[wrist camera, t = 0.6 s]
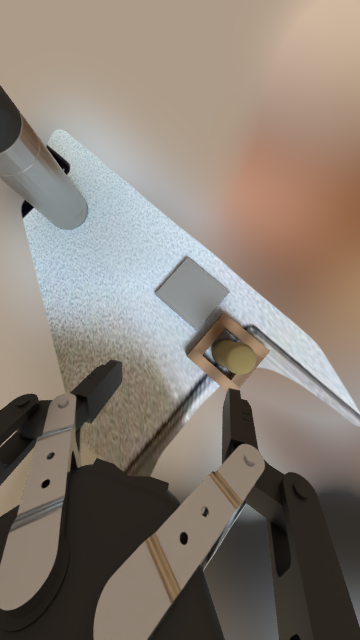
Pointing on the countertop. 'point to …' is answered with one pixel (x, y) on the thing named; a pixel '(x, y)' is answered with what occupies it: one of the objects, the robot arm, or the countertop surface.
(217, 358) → the cork
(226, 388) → the walnut socket
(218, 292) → the slate pad
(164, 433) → the countertop surface
